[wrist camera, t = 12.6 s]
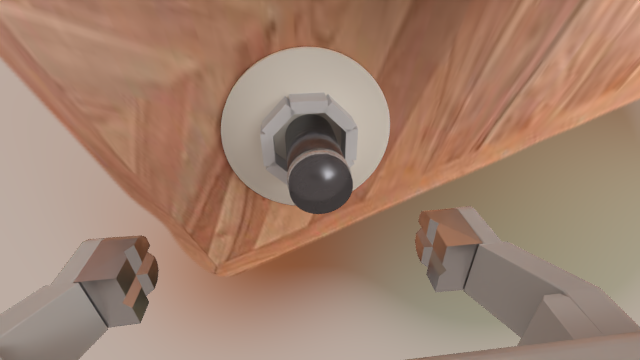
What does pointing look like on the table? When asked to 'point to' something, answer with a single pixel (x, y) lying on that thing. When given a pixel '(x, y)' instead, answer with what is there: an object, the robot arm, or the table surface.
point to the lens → (316, 166)
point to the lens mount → (296, 100)
